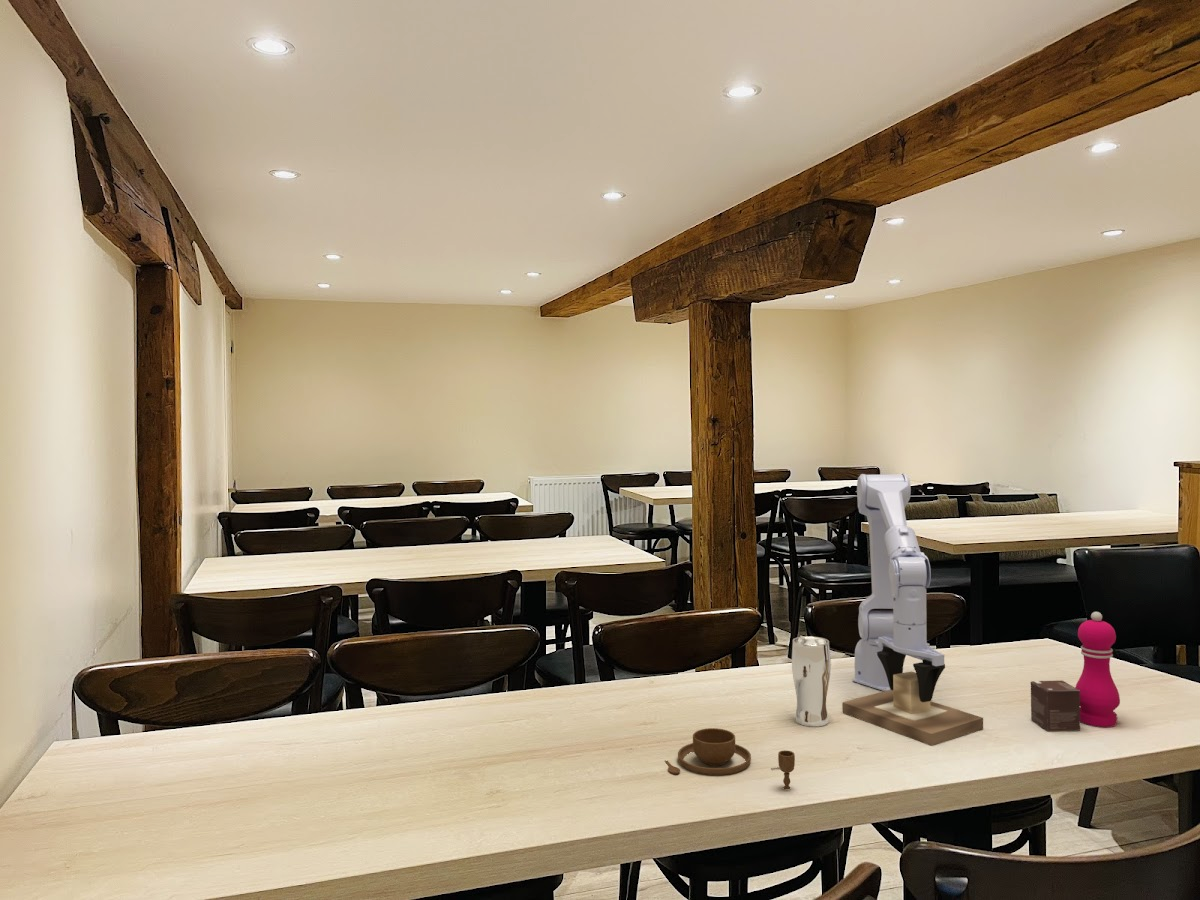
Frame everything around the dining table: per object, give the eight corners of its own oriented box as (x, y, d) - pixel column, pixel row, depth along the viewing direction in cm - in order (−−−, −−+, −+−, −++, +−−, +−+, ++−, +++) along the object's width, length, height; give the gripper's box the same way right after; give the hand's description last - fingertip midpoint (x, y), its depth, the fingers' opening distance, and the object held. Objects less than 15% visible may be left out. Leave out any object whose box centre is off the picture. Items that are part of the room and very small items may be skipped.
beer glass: (827, 714, 162) (826, 636, 162) (834, 728, 155) (833, 645, 155) (790, 714, 163) (789, 635, 163) (794, 727, 156) (793, 645, 156)
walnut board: (842, 712, 163) (842, 701, 163) (892, 699, 171) (892, 688, 171) (931, 745, 146) (931, 732, 146) (983, 728, 154) (983, 716, 153)
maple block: (893, 706, 160) (893, 674, 160) (912, 703, 162) (912, 671, 161) (911, 714, 156) (911, 681, 155) (930, 710, 157) (930, 677, 157)
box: (1081, 731, 152) (1081, 690, 151) (1046, 732, 152) (1046, 690, 151) (1063, 719, 158) (1063, 679, 157) (1030, 720, 158) (1029, 680, 157)
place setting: (751, 745, 149) (751, 712, 149) (803, 794, 130) (802, 755, 130) (654, 756, 146) (653, 722, 145) (692, 807, 126) (691, 768, 126)
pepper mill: (1126, 729, 152) (1126, 616, 151) (1081, 727, 153) (1081, 615, 153) (1111, 715, 159) (1111, 608, 158) (1068, 713, 160) (1068, 607, 160)
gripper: (957, 627, 153) (957, 703, 153) (898, 611, 166) (898, 681, 167) (926, 632, 150) (927, 709, 150) (869, 615, 163) (870, 686, 164)
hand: (910, 695), depth 158 cm, fingers open, 7 cm apart
